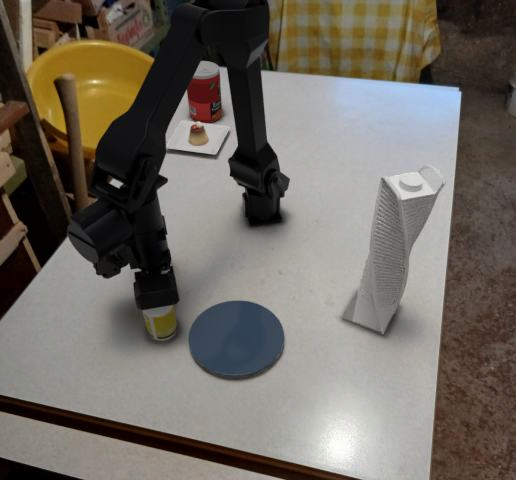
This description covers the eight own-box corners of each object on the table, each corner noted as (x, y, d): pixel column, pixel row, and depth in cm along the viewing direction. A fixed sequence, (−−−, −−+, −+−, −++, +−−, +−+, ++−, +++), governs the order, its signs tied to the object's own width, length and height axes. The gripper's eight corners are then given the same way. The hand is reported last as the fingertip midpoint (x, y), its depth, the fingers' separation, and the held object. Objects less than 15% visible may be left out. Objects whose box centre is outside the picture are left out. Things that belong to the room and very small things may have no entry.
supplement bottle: (182, 324, 83) (176, 288, 76) (169, 345, 80) (161, 309, 73) (156, 315, 84) (148, 279, 77) (142, 336, 81) (132, 300, 74)
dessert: (164, 152, 113) (161, 131, 109) (182, 124, 120) (179, 104, 116) (216, 159, 111) (214, 138, 107) (230, 130, 118) (229, 110, 114)
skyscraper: (406, 310, 84) (458, 158, 62) (389, 343, 80) (439, 194, 58) (359, 292, 87) (392, 140, 65) (340, 324, 82) (369, 173, 60)
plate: (271, 299, 86) (271, 293, 85) (294, 370, 77) (294, 365, 76) (183, 314, 84) (182, 308, 83) (196, 388, 75) (195, 383, 74)
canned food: (218, 125, 120) (214, 77, 111) (185, 121, 121) (179, 74, 112) (225, 109, 125) (223, 62, 116) (194, 105, 126) (189, 59, 117)
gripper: (83, 190, 77) (108, 265, 89) (86, 276, 66) (114, 348, 78) (157, 180, 78) (171, 255, 91) (172, 262, 67) (186, 335, 80)
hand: (160, 295), depth 85 cm, fingers closed
